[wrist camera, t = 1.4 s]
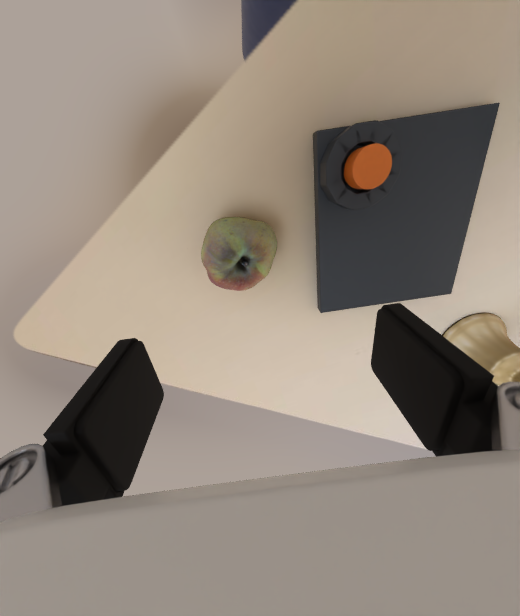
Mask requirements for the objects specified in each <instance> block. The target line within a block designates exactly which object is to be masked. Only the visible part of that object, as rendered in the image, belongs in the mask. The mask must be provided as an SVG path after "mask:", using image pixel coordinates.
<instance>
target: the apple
mask: <svg viewBox="0 0 520 616" xmlns="http://www.w3.org/2000/svg"><path fill="white" fill-rule="evenodd" d="M276 249H277V240H276V236H275V234H274V232H273V230H272V228H271V227H270V226H269V225H268V224H266V223H265V222H262V221H255V220H250V219H246V218H241V217H228V218H222V219H219V220H217V221H215V222H214V223H212V224H211V226H210V227H209V229H208V231H207V233H206V236H205V239H204V243H203V247H202V252H201V258H202V262H203V265H204V266H205V268H206V270H207V274H208V277H209V279H210V281H211V282H212V283H213V284H215V285H216V286H219V287H221V288H224V289H229V290H237V291H241V290H246V289H249V288H252V287H253V286H255V285H256V284H257V283H258V282H260V281H261V280H262V279H264V278H265V277H266V276H267V275H268V273H269V271H270V269H271V265H272V262H273V259H274V256H275V253H276Z"/></svg>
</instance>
